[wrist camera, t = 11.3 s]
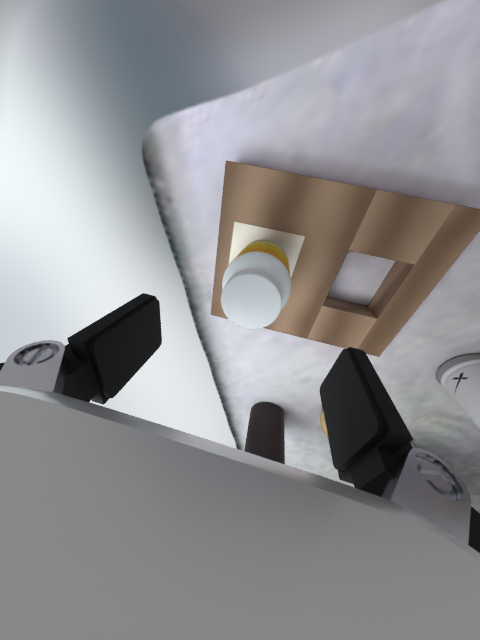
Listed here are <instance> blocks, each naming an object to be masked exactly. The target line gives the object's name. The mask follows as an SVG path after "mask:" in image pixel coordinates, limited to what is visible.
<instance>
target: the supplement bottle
mask: <svg viewBox="0 0 480 640" xmlns="http://www.w3.org/2000/svg"><path fill="white" fill-rule="evenodd" d="M222 290H223V291H222V295H221V305H222V309H223V311H224V313H225V315H226V316H227V317H228V318H229V320H230V321H231V322H233V323H234V324H236V325H238V326H240V327H242V328H246V329H260V328H263V327H266V326H268V325H270V324H271V323H273V322H274V321H275V320H276V318H277V317H278V315H279V313H280V311H281V309H282V308H283V307H284V306H285V304H286V303H287V301H288V299H289V296H290V293H291V278H290V270H289V262H288V258H287V255H286V253H285V251H284V250H283V249H282V247H281V246H280V245H278V244H277V243H275V242H273V241H271V240H265V239H262V240H256V241H253V242H251V243H250V244H248V245H247V246H246V247H245V248H244V249H243V250H242V251H241V252H240V253H239V254H238V255H237V257H236V258H235V259H234V260H233V261H232V262H231V263H230V264H229V266H228V267H227V269H226V271H225V273H224V276H223V281H222Z"/></svg>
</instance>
